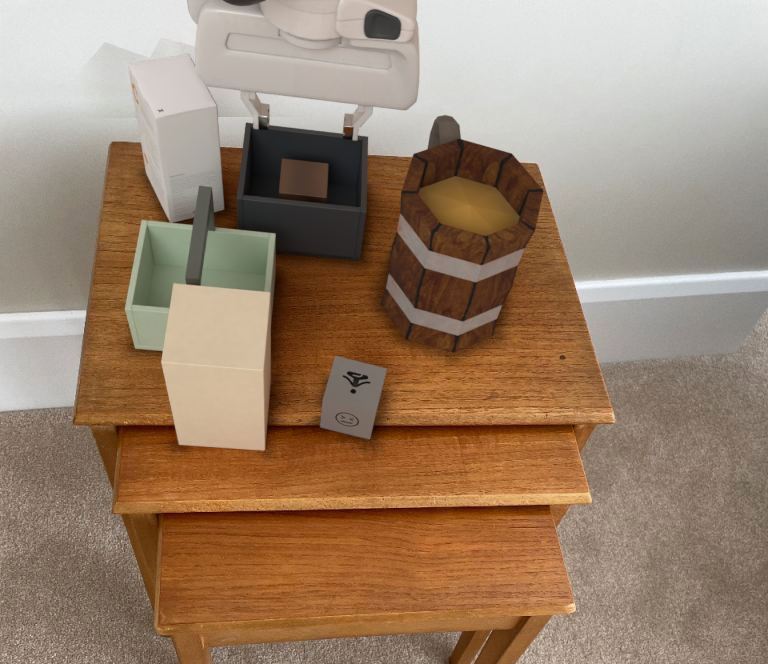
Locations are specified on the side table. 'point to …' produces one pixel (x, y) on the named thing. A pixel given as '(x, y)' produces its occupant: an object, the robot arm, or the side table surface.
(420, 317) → the mug
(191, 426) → the stand
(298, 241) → the black open box
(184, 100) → the small box
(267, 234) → the basket with handle
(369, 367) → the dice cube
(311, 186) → the block
